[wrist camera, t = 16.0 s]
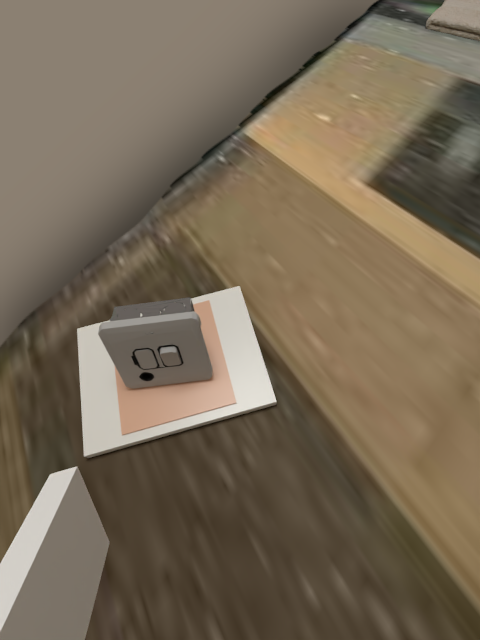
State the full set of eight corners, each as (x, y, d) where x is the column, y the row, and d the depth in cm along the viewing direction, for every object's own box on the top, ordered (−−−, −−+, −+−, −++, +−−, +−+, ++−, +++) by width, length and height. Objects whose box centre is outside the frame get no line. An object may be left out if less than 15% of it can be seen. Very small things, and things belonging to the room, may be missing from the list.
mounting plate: (240, 290, 47) (239, 284, 46) (276, 404, 40) (276, 401, 39) (80, 332, 46) (76, 328, 45) (88, 458, 39) (83, 456, 38)
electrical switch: (127, 390, 41) (92, 346, 33) (131, 349, 44) (99, 299, 36) (214, 380, 41) (199, 333, 33) (212, 339, 44) (197, 287, 36)
